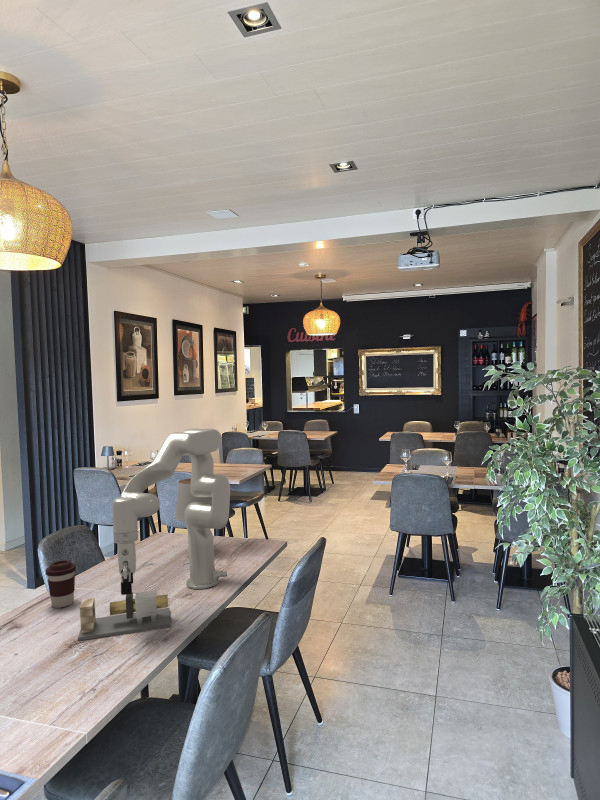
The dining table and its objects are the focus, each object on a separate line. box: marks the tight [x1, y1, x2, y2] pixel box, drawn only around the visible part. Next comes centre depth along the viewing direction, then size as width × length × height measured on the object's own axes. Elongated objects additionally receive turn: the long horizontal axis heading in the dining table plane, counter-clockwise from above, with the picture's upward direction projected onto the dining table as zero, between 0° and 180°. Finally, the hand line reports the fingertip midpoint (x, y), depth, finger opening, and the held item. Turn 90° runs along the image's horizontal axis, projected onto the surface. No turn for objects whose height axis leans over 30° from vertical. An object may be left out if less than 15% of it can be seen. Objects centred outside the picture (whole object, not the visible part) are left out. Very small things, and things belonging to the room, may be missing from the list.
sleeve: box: [134, 589, 157, 624], centre depth 175 cm, size 6×6×8 cm
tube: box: [109, 591, 169, 619], centre depth 174 cm, size 18×5×6 cm, turn 105°
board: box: [77, 607, 171, 642], centre depth 174 cm, size 28×13×1 cm, turn 105°
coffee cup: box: [45, 559, 77, 609], centre depth 193 cm, size 10×10×15 cm
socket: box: [79, 597, 97, 633], centre depth 170 cm, size 4×7×8 cm, turn 15°
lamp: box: [174, 477, 212, 522], centre depth 242 cm, size 19×19×34 cm
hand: (127, 588), depth 173 cm, fingers open, 9 cm apart
